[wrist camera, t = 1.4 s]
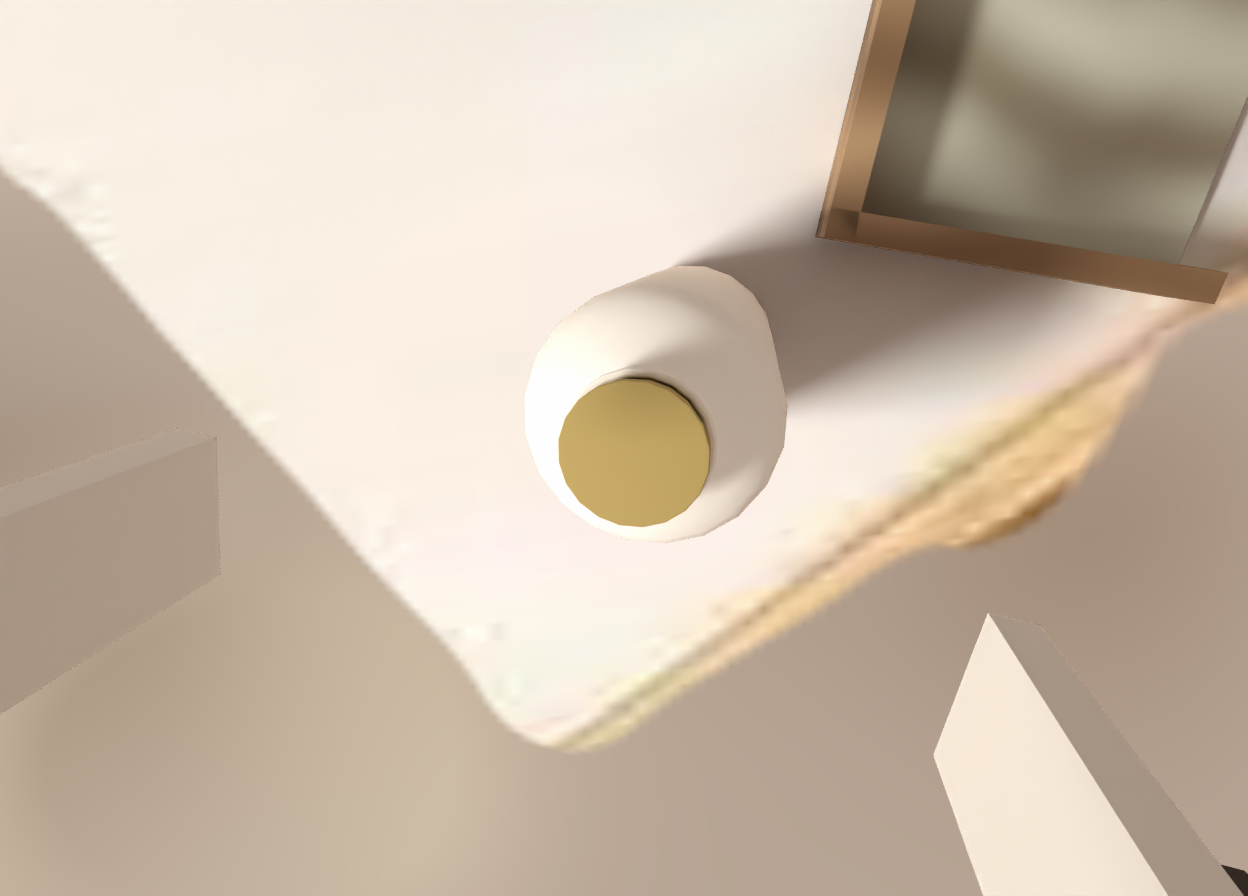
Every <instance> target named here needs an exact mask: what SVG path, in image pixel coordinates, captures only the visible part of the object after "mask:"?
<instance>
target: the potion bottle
mask: <svg viewBox="0 0 1248 896" xmlns="http://www.w3.org/2000/svg"><path fill="white" fill-rule="evenodd" d="M786 417H787V401H786V397H785V392H784V387H783V383H782V378H781V374H780V369H779V365H778V360H777V356H776V351H775V347H774V342H773V338H772V334H771V330H770V326H769V322H768V318H767V315H766V313H765V312H764V310H763V309H762V307H761V306H760V304H759V303H758V301H757V299H756V298H755V296H754V295H753V293H752V292H751V291H749V290H748V289H747V288H746V287H744V286H743V285H742V284H741V283H739V282H738V281H737V280H736V279H734V278H733V277H732V276H730V275H727V274H725V273H722V272H719V271H716V270H714V269H711V268H708V267H705V266H676V267H673V268H669V269H666V270H663V271H660V272H657V273H653V274H651V275H648V276H646V277H643V278H641V279H638V280H636V281H633V282H630V283H628V284H625V285H623V286H620V287H618V288H615V289H613V290H610V291H608V292H605V293H603V294H600V295H598V296H595V297H593V298H592V299H591V300H589V301H588V302H586V303H585V304H584V305H582V306H581V307H580V308H578V309H577V310H575V311H574V312H573V313H571V314H570V315H569V316H567V317H566V318H565V319H563V320H562V321H561V322H560V323H559V324H558V326H557V327H556V329H555V330H554V331H553V333H552V334H551V336H550V337H549V339H548V340H547V341H546V343H545V344H544V346H543V347H542V349H541V350H540V351H539V353H538V354H537V357H536V360H535V363H534V367H533V370H532V373H531V377H530V380H529V384H528V387H527V390H526V394H525V419H526V436H527V439H528V442H529V445H530V448H531V451H532V453H533V456H534V459H535V462H536V465H537V468H538V471H539V472H540V474H541V475H542V476H543V478H544V479H545V480H546V482H547V483H548V485H549V486H550V487H551V489H552V490H553V491H554V493H555V494H556V496H557V497H558V498H559V500H560V501H561V502H562V503H563V504H564V505H566V506H567V507H568V508H569V509H571V510H572V511H573V512H575V513H576V514H577V515H579V516H580V517H581V518H583V519H584V520H585V521H586V522H588V523H589V524H590V525H592V526H594V527H596V528H599V529H602V530H604V531H607V532H609V533H612V534H614V535H617V536H620V537H622V538H625V539H627V540H636V541H648V542H659V543H670V542H674V541H679V540H684V539H689V538H694V537H698V536H703V535H706V534H707V533H709V532H711V531H713V530H715V529H716V528H718V527H720V526H722V525H724V524H725V523H727V522H729V521H731V520H732V519H734V518H736V517H738V516H739V515H740V514H741V513H742V512H743V511H744V509H745V508H746V507H747V506H748V505H749V504H750V503H751V502H752V501H753V500H754V499H755V498H756V496H757V495H758V494H759V493H760V492H761V491H762V490H763V489H764V488H765V486H766V485H767V483H768V481H769V479H770V477H771V475H772V472H773V470H774V468H775V466H776V463H777V461H778V459H779V457H780V454H781V452H782V450H783V448H784V440H785V429H786Z"/></svg>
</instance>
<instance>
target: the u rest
mask: <svg viewBox="0 0 1248 896" xmlns="http://www.w3.org/2000/svg"><path fill="white" fill-rule="evenodd" d="M1247 97H1248V0H873V1H872V6H871V10H870V14H869V18H868V22H867V26H866V30H865V34H864V38H863V43H862V47H861V51H860V55H859V59H858V63H857V67H856V71H855V76H854V80H853V84H852V88H851V92H850V96H849V100H848V104H847V108H846V113H845V117H844V121H843V125H842V129H841V133H840V137H839V141H838V146H837V150H836V154H835V158H834V162H833V166H832V170H831V174H830V178H829V183H828V187H827V191H826V195H825V199H824V203H823V207H822V211H821V216H820V220H819V224H818V228H817V232H816V236H815V237H818V238H824V239H830V240H836V241H841V242H847V243H853V244H859V245H865V246H871V247H876V248H882V249H888V250H894V251H900V252H906V253H912V254H917V255H923V256H929V257H935V258H941V259H947V260H953V261H958V262H964V263H970V264H976V265H982V266H988V267H993V268H999V269H1005V270H1011V271H1017V272H1023V273H1029V274H1034V275H1040V276H1046V277H1052V278H1058V279H1064V280H1069V281H1075V282H1081V283H1087V284H1093V285H1099V286H1105V287H1110V288H1116V289H1122V290H1128V291H1134V292H1140V293H1146V294H1151V295H1157V296H1164V297H1171V298H1177V299H1184V300H1191V301H1197V302H1204V303H1211V304H1215V302H1216V300H1217V297H1218V295H1219V293H1220V291H1221V288H1222V286H1223V284H1224V281H1225V279H1226V277H1227V275H1228V273H1226V272H1220V271H1214V270H1208V269H1202V268H1196V267H1189V266H1183V265H1178V264H1179V262H1180V259H1181V257H1182V254H1183V252H1184V249H1185V247H1186V245H1187V242H1188V240H1189V237H1190V235H1191V233H1192V230H1193V228H1194V225H1195V223H1196V220H1197V218H1198V216H1199V213H1200V211H1201V208H1202V206H1203V203H1204V201H1205V199H1206V196H1207V194H1208V191H1209V189H1210V187H1211V184H1212V182H1213V179H1214V177H1215V174H1216V172H1217V170H1218V167H1219V165H1220V162H1221V160H1222V157H1223V155H1224V153H1225V150H1226V148H1227V145H1228V143H1229V141H1230V138H1231V136H1232V133H1233V131H1234V128H1235V126H1236V124H1237V121H1238V119H1239V116H1240V114H1241V111H1242V109H1243V107H1244V104H1245V102H1246V99H1247Z"/></svg>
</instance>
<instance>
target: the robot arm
mask: <svg viewBox="0 0 1248 896" xmlns="http://www.w3.org/2000/svg"><path fill="white" fill-rule="evenodd" d="M218 509H219V508H218V472H217V438H216V437H214V436H209V435H205V434H200V433H196V432H192V431H187V430H183V429H179V428H177V429H174V430H171V431H168V432H165V433H162V434H159V435H156V436H153V437H150V438H147V439H144V440H141V441H138V442H134V443H131V444H129V445H125V446H122V447H119V448H116V449H114V450H111V451H107V452H104V453H101V454H99V455H95V456H92V457H89V458H86V459H83V460H80V461H77V462H74V463H71V464H68V465H65V466H62V467H59V468H56V469H53V470H50V471H47V472H44V473H41V474H38V475H35V476H32V477H29V478H26V479H23V480H20V481H17V482H14V483H11V484H8V485H5V486H2V487H0V714H2V713H3V712H5V711H6V710H8V709H9V708H11V707H12V706H14V705H16V704H17V703H19V702H20V701H22V700H24V699H25V698H27V697H28V696H30V695H31V694H33V693H35V692H36V691H38V690H39V689H41V688H42V687H44V686H45V685H47V684H49V683H50V682H52V681H53V680H55V679H57V678H58V677H60V676H61V675H63V674H65V673H66V672H68V671H69V670H71V669H72V668H74V667H76V666H77V665H79V664H80V663H82V662H83V661H85V660H87V659H88V658H90V657H91V656H93V655H95V654H96V653H98V652H99V651H101V650H102V649H104V648H105V647H107V646H109V645H110V644H112V643H113V642H115V641H117V640H118V639H120V638H121V637H123V636H124V635H126V634H128V633H129V632H131V631H132V630H134V629H135V628H137V627H139V626H140V625H142V624H143V623H145V622H147V621H148V620H150V619H151V618H153V617H154V616H156V615H157V614H159V613H161V612H162V611H164V610H165V609H167V608H168V607H170V606H172V605H173V604H175V603H176V602H178V601H180V600H181V599H183V598H184V597H186V596H187V595H189V594H191V593H192V592H194V591H195V590H197V589H199V588H200V587H201V586H203V585H205V584H206V583H208V582H209V581H211V580H213V579H214V578H216V577H217V576H219V575H220V544H219V511H218ZM934 758H935V761H936V764H937V767H938V770H939V772H940V775H941V778H942V781H943V784H944V787H945V789H946V792H947V795H948V798H949V801H950V803H951V806H952V809H953V812H954V815H955V817H956V820H957V823H958V826H959V829H960V832H961V834H962V837H963V840H964V843H965V846H966V848H967V851H968V854H969V857H970V860H971V862H972V865H973V868H974V871H975V874H976V876H977V879H978V882H979V885H980V888H981V890H982V894H983V896H1248V874H1247V873H1246V872H1245V871H1243V870H1239V869H1236V868H1232V867H1228V866H1224V865H1220V863H1219V862H1218V861H1217V860H1216V858H1215V857H1214V855H1213V854H1212V853H1211V851H1210V850H1209V849H1208V847H1207V846H1206V845H1205V843H1204V842H1203V841H1202V839H1201V838H1200V837H1199V836H1198V834H1197V833H1196V831H1195V830H1194V829H1193V827H1192V826H1191V825H1190V823H1189V822H1188V821H1187V819H1186V818H1185V817H1184V816H1183V814H1182V813H1181V811H1180V810H1179V809H1178V807H1177V806H1176V805H1175V803H1174V802H1173V801H1172V799H1171V798H1170V797H1169V795H1167V793H1166V791H1165V790H1164V789H1163V787H1162V786H1161V785H1160V783H1159V782H1158V781H1157V780H1156V778H1155V777H1154V776H1153V774H1152V773H1151V772H1150V770H1149V769H1148V768H1147V766H1146V765H1145V764H1144V762H1143V761H1142V760H1141V758H1140V757H1139V756H1138V754H1137V753H1136V752H1135V750H1134V749H1133V748H1132V746H1131V745H1130V744H1129V742H1128V741H1127V740H1126V738H1125V737H1124V736H1123V734H1122V733H1121V732H1120V730H1119V729H1118V728H1117V727H1116V725H1115V724H1114V722H1113V721H1112V720H1111V718H1110V717H1109V716H1108V714H1107V713H1106V712H1105V711H1104V709H1103V708H1102V706H1101V705H1100V704H1099V702H1098V701H1097V700H1096V698H1095V697H1094V696H1093V694H1092V693H1091V692H1090V690H1089V689H1088V688H1087V686H1086V685H1085V684H1084V682H1083V681H1082V680H1081V679H1080V677H1079V676H1078V674H1077V673H1076V672H1075V670H1074V669H1073V668H1072V666H1071V665H1070V664H1069V662H1068V661H1067V660H1066V658H1065V657H1064V656H1063V655H1062V653H1061V652H1060V650H1059V649H1058V648H1057V646H1056V645H1055V644H1054V643H1053V641H1052V640H1051V639H1050V637H1049V636H1048V635H1047V633H1046V632H1045V631H1044V629H1043V628H1042V627H1041V625H1040V624H1035V623H1030V622H1026V621H1022V620H1018V619H1013V618H1009V617H1004V616H1000V615H996V614H991V613H988V614H987V617H986V620H985V622H984V625H983V627H982V630H981V633H980V636H979V638H978V641H977V643H976V646H975V648H974V651H973V653H972V656H971V659H970V661H969V664H968V666H967V669H966V672H965V674H964V677H963V679H962V682H961V685H960V687H959V690H958V692H957V695H956V698H955V700H954V703H953V705H952V708H951V711H950V713H949V716H948V718H947V721H946V724H945V726H944V729H943V731H942V734H941V737H940V739H939V742H938V744H937V747H936V750H935V752H934Z"/></svg>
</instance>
